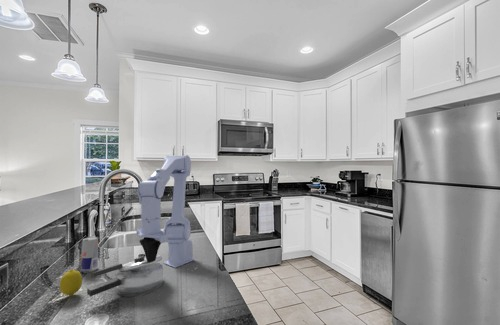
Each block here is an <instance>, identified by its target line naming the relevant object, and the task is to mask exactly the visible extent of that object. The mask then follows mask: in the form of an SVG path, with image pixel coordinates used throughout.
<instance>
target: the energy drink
mask: <svg viewBox="0 0 500 325" xmlns="http://www.w3.org/2000/svg"><path fill="white" fill-rule="evenodd" d="M98 268H99V238H98V237H97V236H88V237H85V238H82V241H81V268H80V269H81V272H82V273H83V274H85V273H86V274H87V273H92V272H95V271H98V270H97V269H98Z"/></svg>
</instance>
